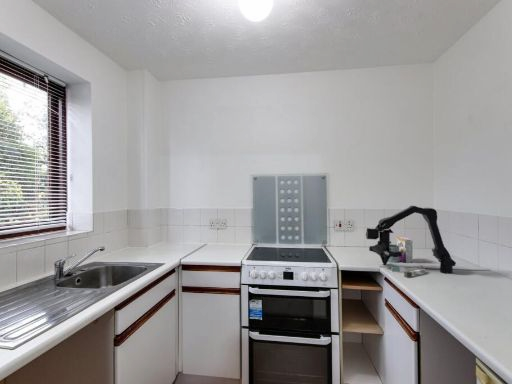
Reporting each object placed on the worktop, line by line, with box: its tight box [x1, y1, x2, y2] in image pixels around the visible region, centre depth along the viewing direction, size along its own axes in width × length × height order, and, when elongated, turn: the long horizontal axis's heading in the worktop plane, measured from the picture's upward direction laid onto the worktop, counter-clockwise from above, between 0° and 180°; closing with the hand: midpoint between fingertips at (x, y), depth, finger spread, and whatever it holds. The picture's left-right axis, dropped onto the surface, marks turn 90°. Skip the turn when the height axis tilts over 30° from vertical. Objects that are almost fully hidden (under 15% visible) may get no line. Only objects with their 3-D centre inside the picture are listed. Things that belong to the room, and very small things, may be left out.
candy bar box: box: [396, 236, 413, 264], centre depth 173 cm, size 11×5×16 cm, turn 179°
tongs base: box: [403, 265, 426, 278], centre depth 145 cm, size 18×18×5 cm
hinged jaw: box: [390, 265, 419, 273], centre depth 147 cm, size 14×2×3 cm, turn 79°
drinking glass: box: [386, 243, 399, 264], centre depth 170 cm, size 10×10×12 cm
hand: (384, 265), depth 154 cm, fingers closed
